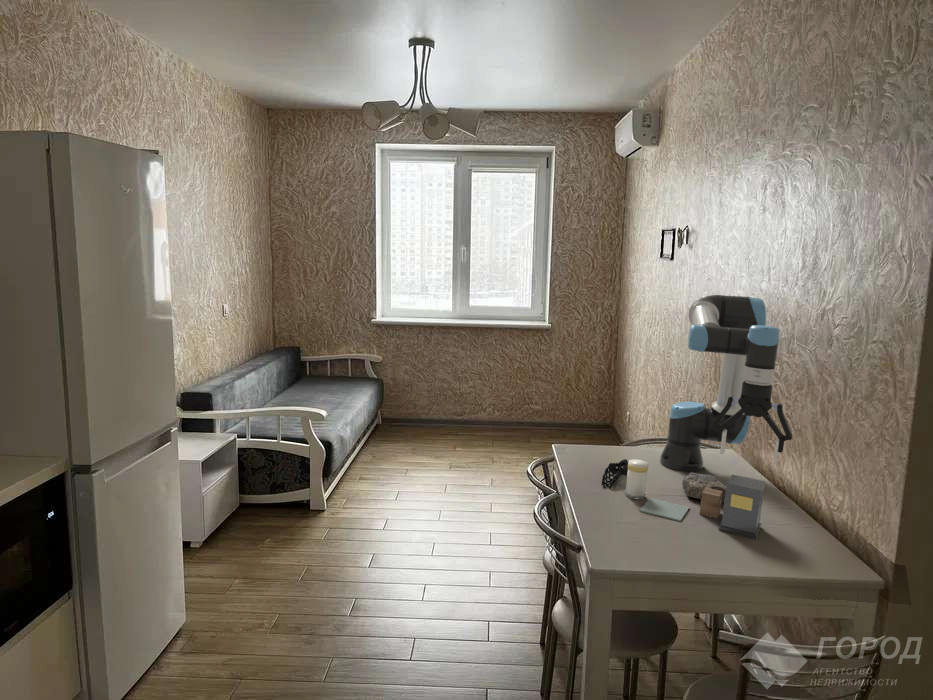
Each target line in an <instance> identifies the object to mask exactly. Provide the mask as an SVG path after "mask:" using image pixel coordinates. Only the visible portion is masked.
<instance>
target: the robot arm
mask: <svg viewBox="0 0 933 700" xmlns="http://www.w3.org/2000/svg"><path fill="white" fill-rule="evenodd" d="M765 305H766V304H765V302H764V300H763V298H758V297H752V296H738V295H736V296H735V295H722V294H711V295H707V296H704V297H701V298H699V299H698V300H696V301H694V302H693V304H691V306H690V308H689V309H688V314H687V315H688V321H689V322H690V324H691V326H689V331H688V340H687V347H688V349H689V350H690V351H697V352H700V353H702V352H705V353H718V354H723V358H722V364H721V373H720V379H719V383H718V384H719V386H718V392H717V397H716V398H717V399H716V400H715V401H713V402H712V403H711V407H710V408H709V407H708V408H707V407H706V405H705V404H704V403H702V402H698V401H682V402H681V401H680V402H676V403H674V404H673V405H672V406H671V408H670V412H669V413H670V414H669V416H668V417H669V422H668V429H667V438H666V439H667V441H666V443H665V446H664V448H663V450H662V452H661V454H660V457H659V463H660V462H661V463H660V464H661V465H662V464H663V466H664V465H665V466H664V467H666V466H667V468H668V469H672V470H676V471H681V470H683V472H698V471H701V470H702V469H703V466H704V460H703V455H702V450H701V441H709V442H715V443H720V449H719V451H720V452H719V455H724V453H725V451H726V444H729V445H730V444H731V445H732V444H734V445H741V444H742V443H744V441H745V439H747V438H746V437H747V435H748V432H749V427H750V424H751V423H750V422H751V417H755V418H763V419H764V420H765V421H766V423H767V425H768V426H769V427H770V429H771V431H772V432H773V433H774V435H775V436H776V437H777V438H776V439H775V445H774V446H775V447H774V452H773V461H772V464H773V465H775V466H776V465H777V463H778V457H779V453H781V454H782V453H783V451H784V448H785V447H784V446H785V442H786V441H792V439H793V433H792V430H791V429H790V428H791V427H790V426H789V423H788V421H787V418H786V415H785V413H784V404H783V403H782V402H779V403H772V393H773V383H774V379H775V370H776V369H775V368H776V361H777V353H778V348H779V347H778V346H779V343H780V329H779V328H778V327H776V326H772V325H767V311H766V306H765ZM772 408H773V410H774V412H777V413H776V414H777V417H778V419H779V422H780V424H781V427H782V429H783V431H784V433H783V432H782V430H781V429H780V428H779V426H778V424H776V422H775V420H774V419H773V418H772V416H771V415H770V413H769V412H768V411H770V410H771V409H772Z"/></svg>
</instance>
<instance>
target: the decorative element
mask: <svg viewBox="0 0 933 700" xmlns="http://www.w3.org/2000/svg"><path fill="white" fill-rule="evenodd" d="M628 462H629V460H628V459H626V458H625V459H622V460H620V461H619V462H610V463H609V464H608V466H607V467H606V468H605V469H604V473H603V474H602V478H601V486H603V488H606V487H605V486H607V487H609V488H608V489H610V488H612V487H613V486H614V485H615V484H616V482H617V481H618V480H619V477H620V476H622V475H627V474H626V473H627V472H628ZM611 477H612V478H611ZM608 485H610V486H608Z"/></svg>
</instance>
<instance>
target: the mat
mask: <svg viewBox="0 0 933 700" xmlns="http://www.w3.org/2000/svg"><path fill="white" fill-rule="evenodd" d="M688 509H689V510H690V506H686V505H682V504H677V503H674V502H669V501H665V500H661V499H657V498H653V497H650V498H649V499H648V500H647V501H646V502H645V503H644V505H643V506H641V508H640V509H639V512H641V513H645V514H649V515H653V516H656V517H661V518H665V519H668V520H672V521H676V522H682V520H683V518H685V516H686V514H688V511H689V510H688Z"/></svg>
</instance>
